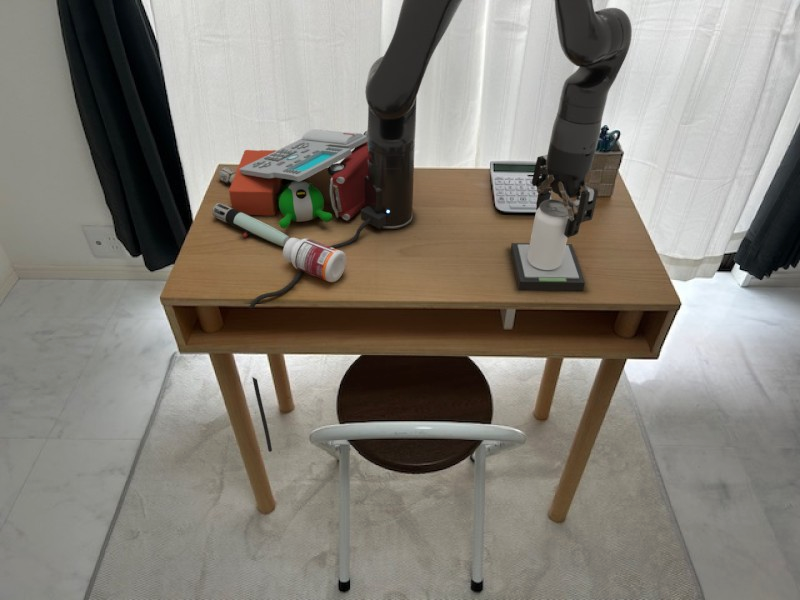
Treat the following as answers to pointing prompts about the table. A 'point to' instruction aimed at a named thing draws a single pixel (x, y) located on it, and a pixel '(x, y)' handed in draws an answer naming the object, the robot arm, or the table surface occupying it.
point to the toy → (301, 203)
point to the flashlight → (249, 224)
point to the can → (548, 235)
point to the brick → (254, 188)
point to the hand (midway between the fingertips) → (555, 222)
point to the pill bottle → (315, 258)
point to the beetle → (227, 175)
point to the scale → (535, 279)
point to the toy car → (349, 182)
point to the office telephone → (306, 155)
